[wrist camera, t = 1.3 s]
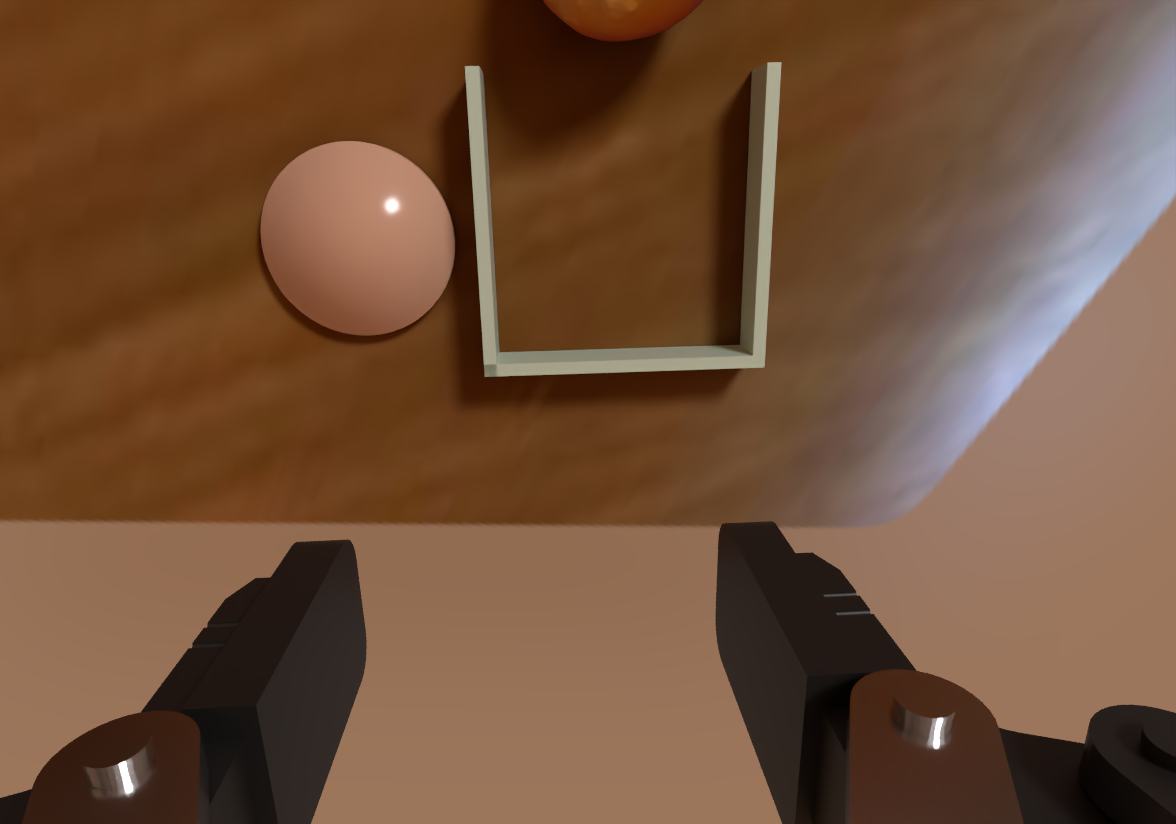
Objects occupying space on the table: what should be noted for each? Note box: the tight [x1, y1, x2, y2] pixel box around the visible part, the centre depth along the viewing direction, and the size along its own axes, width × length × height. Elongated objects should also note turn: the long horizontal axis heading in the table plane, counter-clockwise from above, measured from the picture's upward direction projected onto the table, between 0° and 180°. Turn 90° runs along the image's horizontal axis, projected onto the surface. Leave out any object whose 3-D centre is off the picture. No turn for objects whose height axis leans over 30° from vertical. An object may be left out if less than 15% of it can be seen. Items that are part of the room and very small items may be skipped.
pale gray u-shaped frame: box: [465, 62, 781, 377], centre depth 35 cm, size 14×14×2 cm
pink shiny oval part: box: [260, 141, 456, 336], centre depth 35 cm, size 9×9×1 cm
